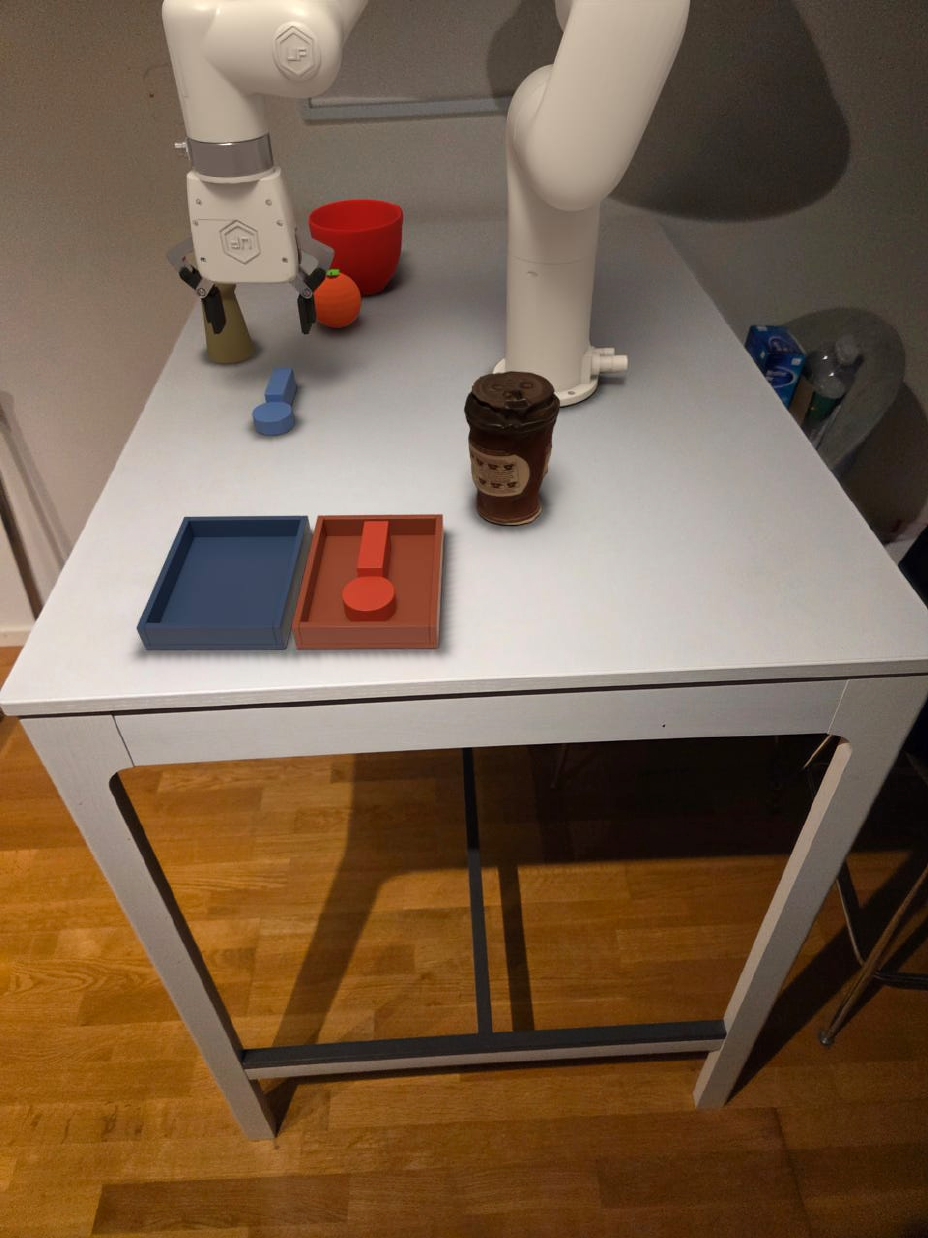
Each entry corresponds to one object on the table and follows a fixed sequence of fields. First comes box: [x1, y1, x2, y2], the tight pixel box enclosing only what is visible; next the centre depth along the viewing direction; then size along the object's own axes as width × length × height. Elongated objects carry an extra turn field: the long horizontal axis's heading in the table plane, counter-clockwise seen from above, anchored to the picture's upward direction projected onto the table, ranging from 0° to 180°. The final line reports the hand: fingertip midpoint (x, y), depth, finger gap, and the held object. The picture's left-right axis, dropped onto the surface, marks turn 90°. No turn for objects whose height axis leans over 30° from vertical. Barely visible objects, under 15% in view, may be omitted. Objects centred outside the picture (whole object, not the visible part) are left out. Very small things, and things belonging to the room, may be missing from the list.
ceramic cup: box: [308, 198, 404, 297], centre depth 115 cm, size 13×17×10 cm
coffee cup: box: [463, 371, 561, 526], centre depth 73 cm, size 9×8×13 cm
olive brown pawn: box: [195, 266, 256, 364], centre depth 99 cm, size 6×6×11 cm
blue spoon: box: [251, 366, 298, 437], centre depth 91 cm, size 11×4×3 cm, turn 179°
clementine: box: [314, 269, 362, 329], centre depth 106 cm, size 8×7×7 cm
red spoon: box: [342, 521, 396, 622], centre depth 69 cm, size 11×4×3 cm, turn 179°
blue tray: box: [135, 515, 313, 651], centre depth 70 cm, size 12×15×3 cm
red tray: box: [291, 513, 445, 650], centre depth 69 cm, size 12×15×3 cm
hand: (264, 328), depth 88 cm, fingers open, 9 cm apart
